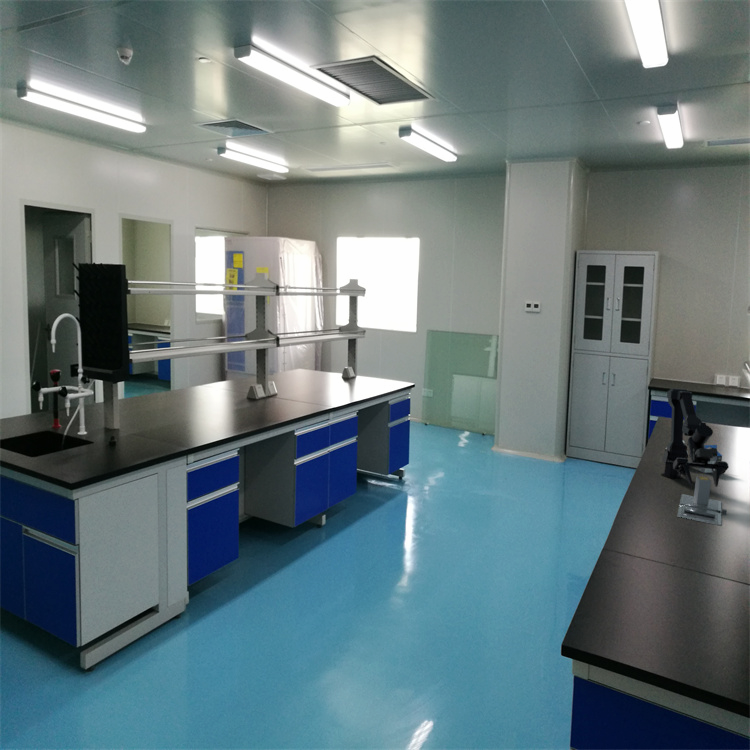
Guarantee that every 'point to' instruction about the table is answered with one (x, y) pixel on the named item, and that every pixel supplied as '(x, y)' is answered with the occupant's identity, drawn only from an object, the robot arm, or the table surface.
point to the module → (702, 490)
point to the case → (700, 510)
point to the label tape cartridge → (711, 460)
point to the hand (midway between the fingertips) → (703, 485)
